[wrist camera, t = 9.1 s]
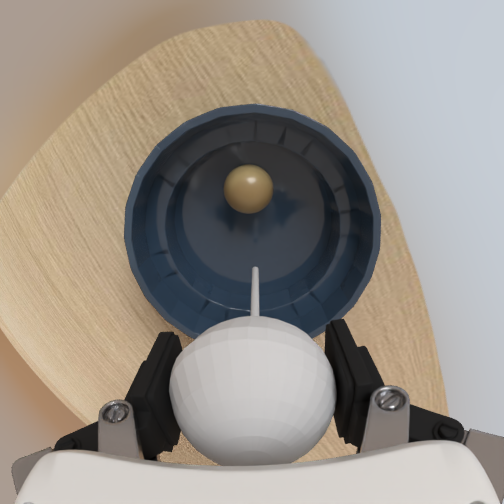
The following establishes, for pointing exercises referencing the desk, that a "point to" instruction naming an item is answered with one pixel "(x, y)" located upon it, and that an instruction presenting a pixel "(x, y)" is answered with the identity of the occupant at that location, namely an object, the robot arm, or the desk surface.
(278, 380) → the lollipop
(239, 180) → the bead
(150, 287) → the bowl
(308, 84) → the desk surface
